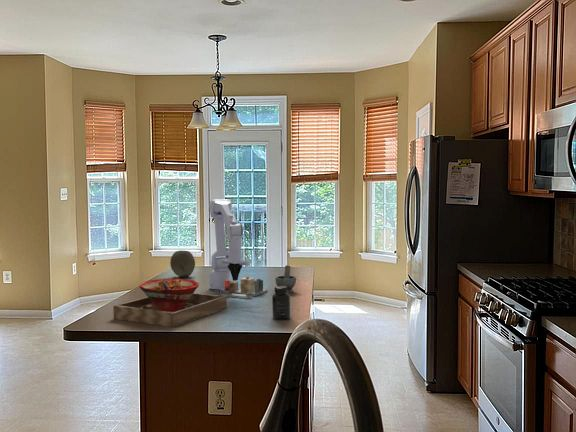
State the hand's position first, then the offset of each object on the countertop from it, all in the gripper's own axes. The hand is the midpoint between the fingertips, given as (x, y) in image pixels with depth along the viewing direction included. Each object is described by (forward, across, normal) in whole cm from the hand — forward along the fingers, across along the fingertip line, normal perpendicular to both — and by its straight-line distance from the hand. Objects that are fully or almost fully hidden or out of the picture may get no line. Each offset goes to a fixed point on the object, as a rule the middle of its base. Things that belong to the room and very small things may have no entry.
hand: (235, 280), depth 246 cm
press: (+8, +2, +10) cm, 13 cm away
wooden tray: (+7, -5, -38) cm, 39 cm away
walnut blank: (+8, -7, +8) cm, 13 cm away
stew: (+8, -6, -40) cm, 41 cm away
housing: (+6, 0, +10) cm, 12 cm away
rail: (+8, 0, 0) cm, 8 cm away
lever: (+6, -4, 0) cm, 8 cm away
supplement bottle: (+7, +38, -26) cm, 47 cm away
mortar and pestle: (+8, +15, +21) cm, 27 cm away
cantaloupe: (+8, -57, +33) cm, 66 cm away
